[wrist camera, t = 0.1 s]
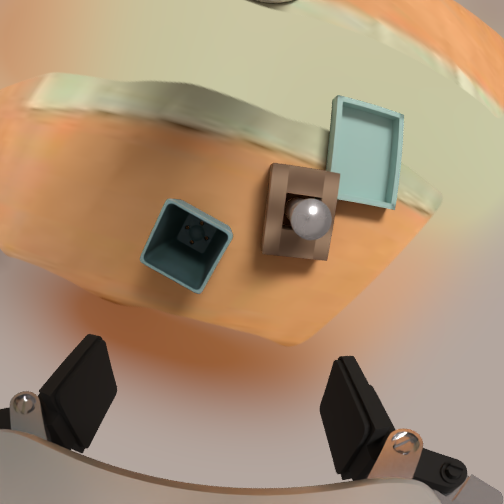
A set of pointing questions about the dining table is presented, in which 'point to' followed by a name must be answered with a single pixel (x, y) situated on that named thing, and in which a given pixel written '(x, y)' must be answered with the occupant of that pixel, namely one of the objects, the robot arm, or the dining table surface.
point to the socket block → (281, 182)
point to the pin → (308, 217)
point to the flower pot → (186, 244)
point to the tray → (365, 151)
